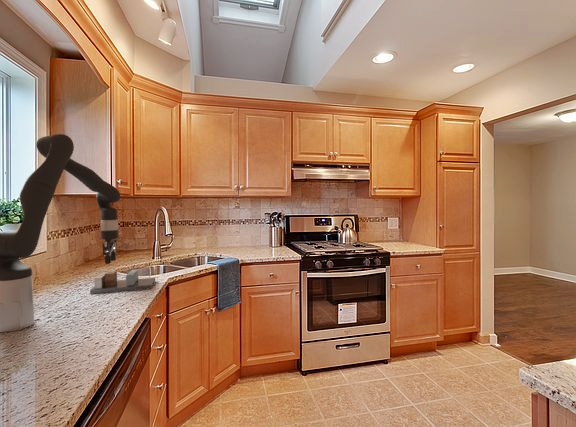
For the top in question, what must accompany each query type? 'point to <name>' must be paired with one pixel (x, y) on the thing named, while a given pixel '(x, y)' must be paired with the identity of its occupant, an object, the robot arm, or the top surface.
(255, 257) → the top surface
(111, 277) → the walnut block
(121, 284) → the plate
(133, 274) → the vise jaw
